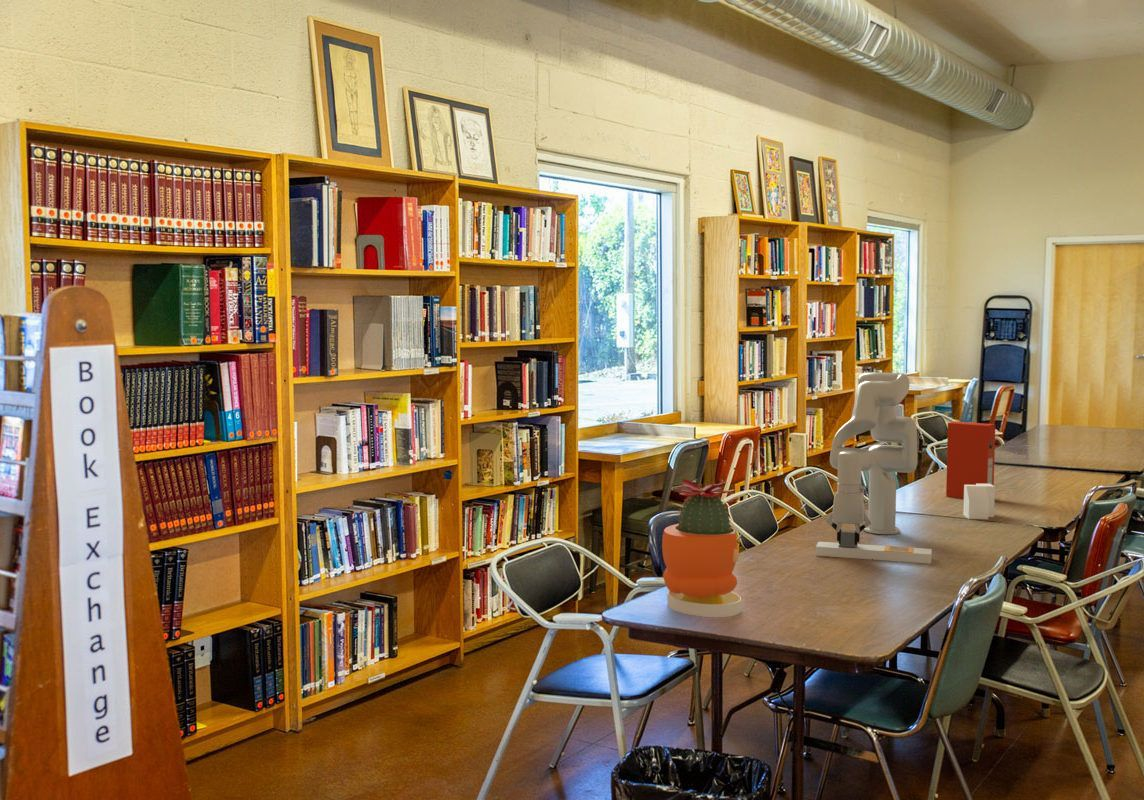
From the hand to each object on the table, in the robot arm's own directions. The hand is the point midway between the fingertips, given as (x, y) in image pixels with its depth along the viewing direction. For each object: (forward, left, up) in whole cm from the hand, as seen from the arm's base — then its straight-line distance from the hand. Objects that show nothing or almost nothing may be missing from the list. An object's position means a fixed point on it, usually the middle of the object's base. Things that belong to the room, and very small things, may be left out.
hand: (848, 543), depth 357 cm
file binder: (-127, +39, -4) cm, 133 cm away
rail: (0, +8, -4) cm, 9 cm away
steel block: (0, 0, -4) cm, 4 cm away
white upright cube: (-85, +42, -4) cm, 95 cm away
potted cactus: (+79, -32, -4) cm, 85 cm away
